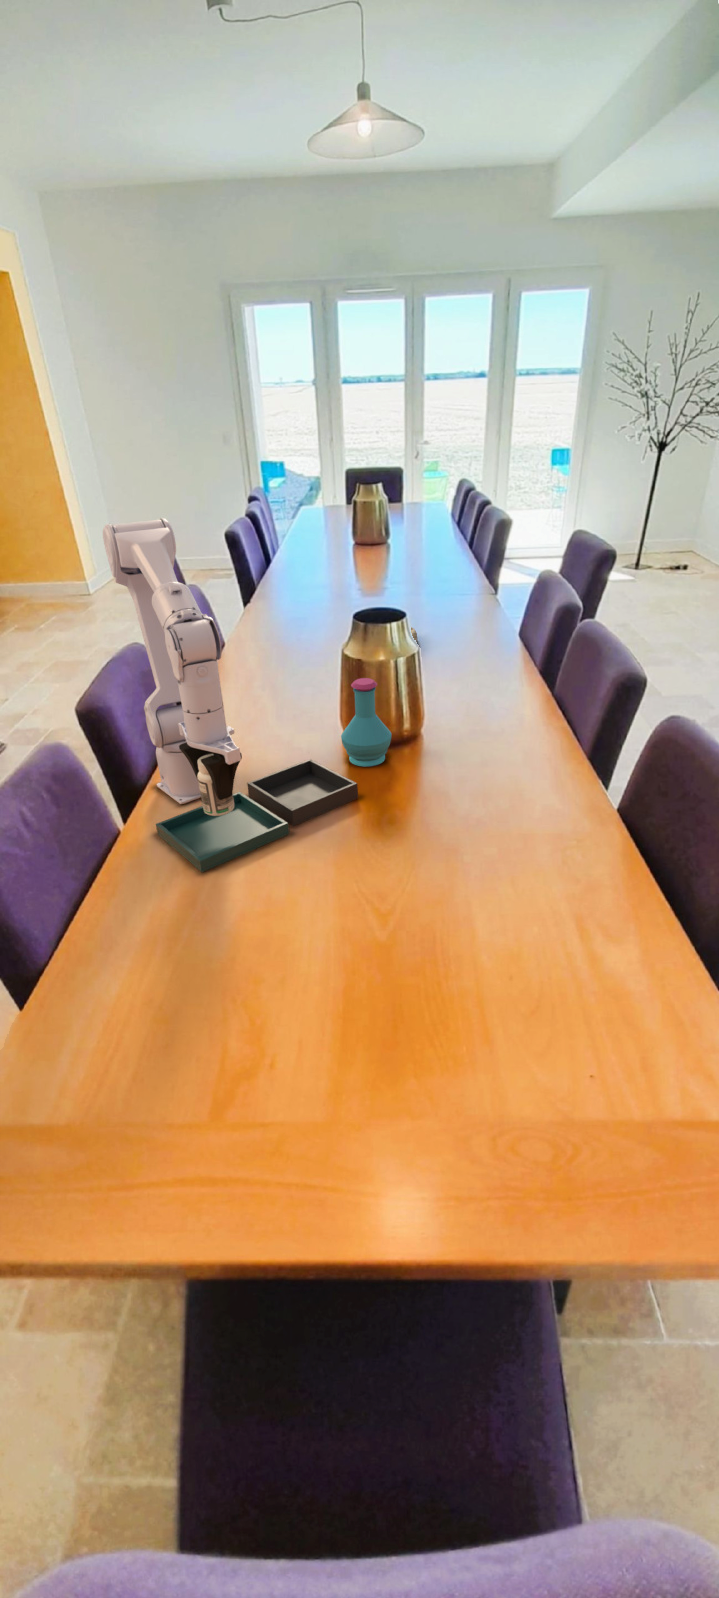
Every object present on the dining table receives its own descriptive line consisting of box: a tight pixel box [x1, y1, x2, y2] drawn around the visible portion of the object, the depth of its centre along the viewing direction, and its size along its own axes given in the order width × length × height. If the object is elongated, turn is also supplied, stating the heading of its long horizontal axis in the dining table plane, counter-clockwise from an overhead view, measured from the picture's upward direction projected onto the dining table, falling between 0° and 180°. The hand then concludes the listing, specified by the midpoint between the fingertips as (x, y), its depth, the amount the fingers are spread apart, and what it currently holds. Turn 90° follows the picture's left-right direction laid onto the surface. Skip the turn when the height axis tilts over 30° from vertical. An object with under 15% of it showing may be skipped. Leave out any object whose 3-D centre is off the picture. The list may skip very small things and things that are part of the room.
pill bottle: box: [197, 754, 234, 816], centre depth 107 cm, size 5×5×8 cm
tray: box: [155, 791, 290, 873], centre depth 111 cm, size 14×15×2 cm
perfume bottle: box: [340, 677, 392, 768], centre depth 130 cm, size 9×9×15 cm
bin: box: [246, 758, 359, 827], centre depth 120 cm, size 13×13×3 cm
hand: (216, 791), depth 108 cm, fingers closed on pill bottle, 5 cm apart
